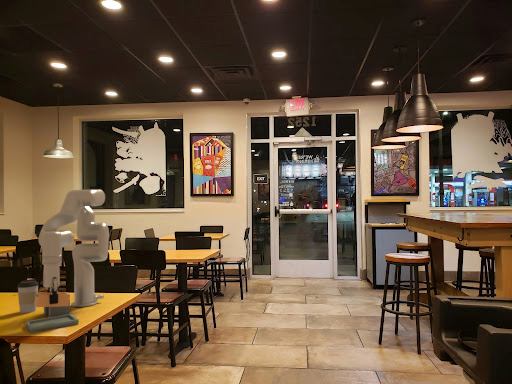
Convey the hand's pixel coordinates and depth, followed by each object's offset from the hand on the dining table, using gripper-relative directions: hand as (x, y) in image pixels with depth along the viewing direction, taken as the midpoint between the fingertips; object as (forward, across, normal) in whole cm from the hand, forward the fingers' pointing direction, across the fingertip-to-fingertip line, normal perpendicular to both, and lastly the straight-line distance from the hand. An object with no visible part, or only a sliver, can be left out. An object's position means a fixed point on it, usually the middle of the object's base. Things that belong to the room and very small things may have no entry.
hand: (51, 302), depth 166 cm
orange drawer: (+1, 0, 0) cm, 1 cm away
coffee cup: (+10, -36, -4) cm, 38 cm away
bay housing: (+10, -17, +5) cm, 20 cm away
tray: (+10, 0, 0) cm, 10 cm away
